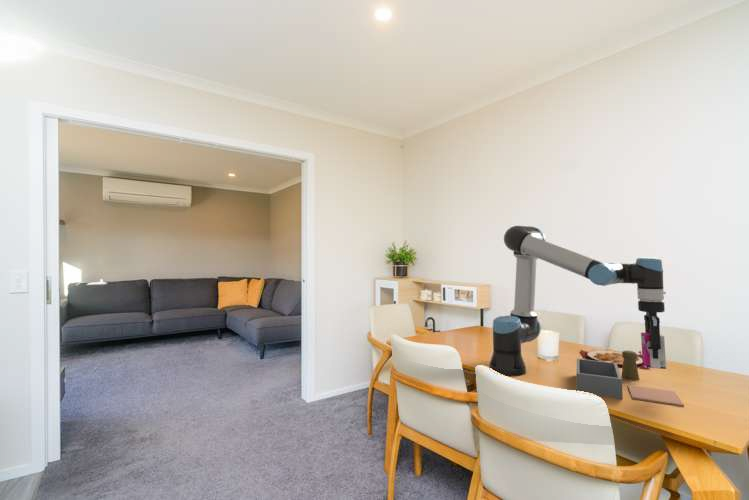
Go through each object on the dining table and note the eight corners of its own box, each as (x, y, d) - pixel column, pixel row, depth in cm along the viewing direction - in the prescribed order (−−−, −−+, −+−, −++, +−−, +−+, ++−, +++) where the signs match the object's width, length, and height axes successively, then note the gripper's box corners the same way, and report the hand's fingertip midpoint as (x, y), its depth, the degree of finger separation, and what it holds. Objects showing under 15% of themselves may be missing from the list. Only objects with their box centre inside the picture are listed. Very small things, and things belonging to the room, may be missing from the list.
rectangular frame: (576, 392, 132) (576, 373, 133) (577, 375, 152) (576, 358, 152) (622, 399, 125) (622, 379, 126) (616, 380, 145) (616, 362, 145)
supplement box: (661, 364, 130) (660, 332, 130) (666, 369, 124) (665, 336, 125) (641, 362, 132) (640, 331, 132) (645, 367, 127) (644, 335, 127)
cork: (642, 380, 144) (641, 353, 144) (625, 379, 145) (624, 352, 145) (634, 375, 150) (633, 349, 150) (618, 375, 151) (617, 349, 151)
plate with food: (580, 353, 188) (580, 346, 188) (641, 357, 177) (641, 350, 177) (586, 367, 166) (586, 359, 166) (657, 372, 155) (656, 364, 155)
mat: (632, 398, 126) (632, 397, 126) (627, 386, 138) (627, 384, 138) (683, 406, 119) (683, 404, 119) (674, 392, 131) (674, 391, 131)
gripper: (669, 303, 119) (673, 373, 118) (658, 298, 135) (661, 359, 135) (641, 302, 123) (644, 370, 122) (634, 297, 139) (637, 357, 138)
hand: (653, 364), depth 128 cm, fingers closed on supplement box, 6 cm apart
